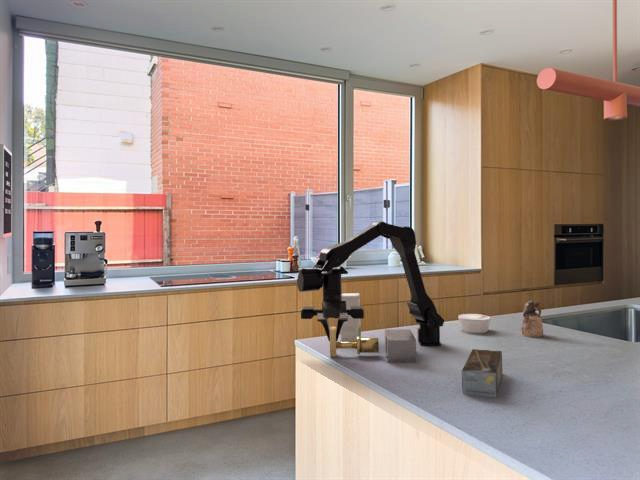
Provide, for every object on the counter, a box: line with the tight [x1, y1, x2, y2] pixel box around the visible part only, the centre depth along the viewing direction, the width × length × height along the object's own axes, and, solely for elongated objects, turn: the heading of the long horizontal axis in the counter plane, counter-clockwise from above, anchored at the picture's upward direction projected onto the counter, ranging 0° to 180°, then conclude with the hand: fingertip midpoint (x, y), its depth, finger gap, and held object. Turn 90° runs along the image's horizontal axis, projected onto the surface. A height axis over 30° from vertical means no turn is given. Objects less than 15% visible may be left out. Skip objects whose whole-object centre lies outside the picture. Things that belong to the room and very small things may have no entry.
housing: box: [384, 328, 417, 364], centre depth 143 cm, size 8×14×6 cm, turn 176°
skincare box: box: [339, 292, 362, 342], centre depth 165 cm, size 8×7×16 cm
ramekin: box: [457, 313, 492, 334], centre depth 175 cm, size 11×11×5 cm
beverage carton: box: [461, 349, 503, 398], centre depth 118 cm, size 8×19×7 cm, turn 155°
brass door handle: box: [329, 326, 380, 357], centre depth 144 cm, size 14×5×8 cm, turn 86°
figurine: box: [520, 300, 544, 338], centre depth 166 cm, size 7×7×12 cm
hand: (333, 340), depth 144 cm, fingers closed on brass door handle, 2 cm apart
